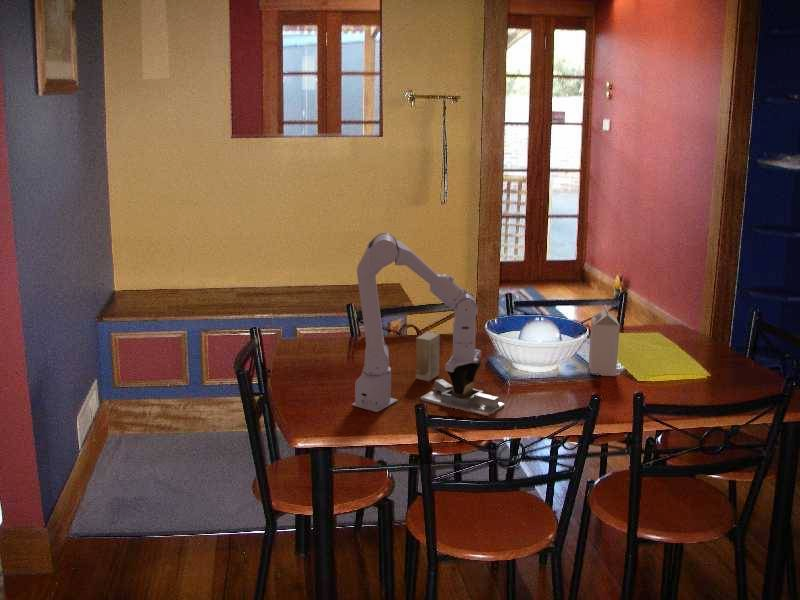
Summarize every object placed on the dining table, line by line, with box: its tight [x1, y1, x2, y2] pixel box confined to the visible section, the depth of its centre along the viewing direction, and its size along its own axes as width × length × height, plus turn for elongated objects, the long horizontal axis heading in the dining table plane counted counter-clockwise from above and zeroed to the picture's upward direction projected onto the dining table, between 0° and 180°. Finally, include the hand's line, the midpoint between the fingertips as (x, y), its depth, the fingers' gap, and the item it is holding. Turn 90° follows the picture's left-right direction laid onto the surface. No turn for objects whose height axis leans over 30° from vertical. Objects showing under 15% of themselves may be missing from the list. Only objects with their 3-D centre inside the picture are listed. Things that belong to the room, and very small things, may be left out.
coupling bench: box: [420, 378, 506, 415], centre depth 244 cm, size 9×20×4 cm, turn 55°
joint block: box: [451, 380, 474, 399], centre depth 243 cm, size 4×4×5 cm
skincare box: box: [415, 331, 441, 382], centre depth 261 cm, size 6×4×12 cm
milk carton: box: [588, 304, 621, 377], centre depth 266 cm, size 7×7×19 cm
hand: (462, 390), depth 243 cm, fingers closed on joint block, 4 cm apart
